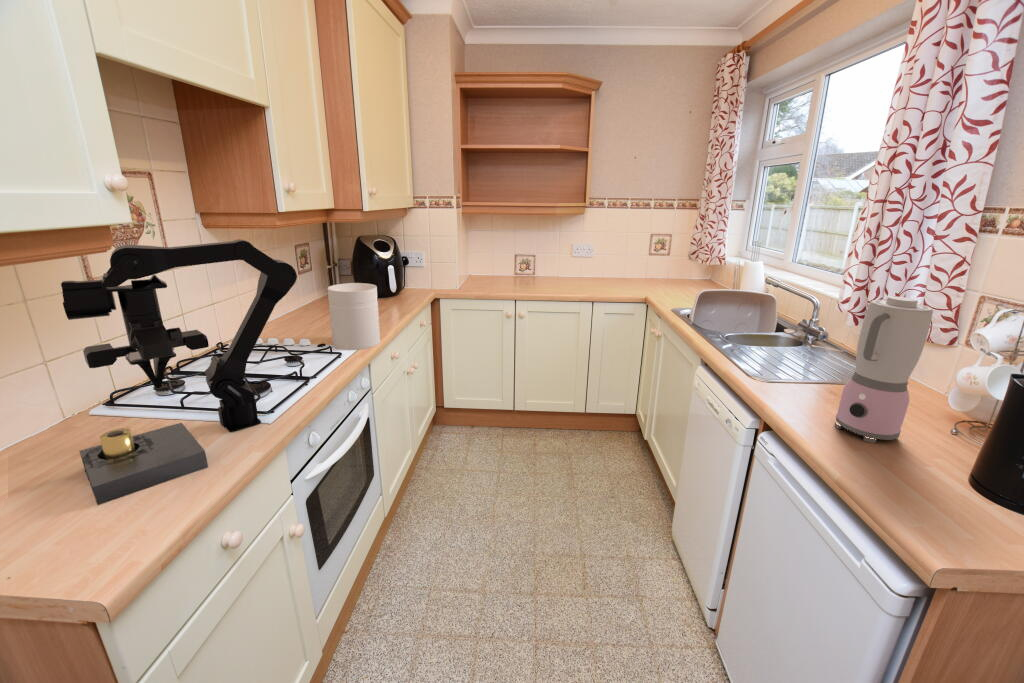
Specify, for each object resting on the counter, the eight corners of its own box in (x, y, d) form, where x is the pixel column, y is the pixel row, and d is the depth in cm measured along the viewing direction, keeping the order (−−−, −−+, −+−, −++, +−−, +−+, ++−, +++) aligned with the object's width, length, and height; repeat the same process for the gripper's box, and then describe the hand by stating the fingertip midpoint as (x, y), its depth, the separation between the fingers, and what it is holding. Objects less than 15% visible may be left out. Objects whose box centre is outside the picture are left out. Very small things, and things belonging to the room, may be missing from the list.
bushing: (136, 458, 90) (128, 425, 87) (141, 467, 87) (132, 433, 85) (106, 467, 86) (97, 433, 84) (110, 476, 84) (101, 442, 82)
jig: (184, 437, 98) (181, 422, 96) (208, 467, 87) (205, 450, 86) (83, 467, 86) (79, 450, 85) (97, 505, 76) (92, 487, 75)
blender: (851, 415, 116) (885, 291, 107) (908, 437, 106) (951, 302, 97) (814, 428, 109) (847, 296, 100) (872, 452, 99) (914, 308, 90)
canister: (322, 346, 158) (316, 289, 152) (351, 334, 173) (347, 281, 167) (362, 352, 153) (357, 293, 147) (388, 339, 168) (385, 285, 162)
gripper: (82, 330, 76) (104, 415, 81) (210, 312, 89) (223, 386, 94) (73, 317, 83) (94, 396, 88) (193, 302, 96) (206, 372, 101)
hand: (158, 387), depth 92 cm, fingers closed
